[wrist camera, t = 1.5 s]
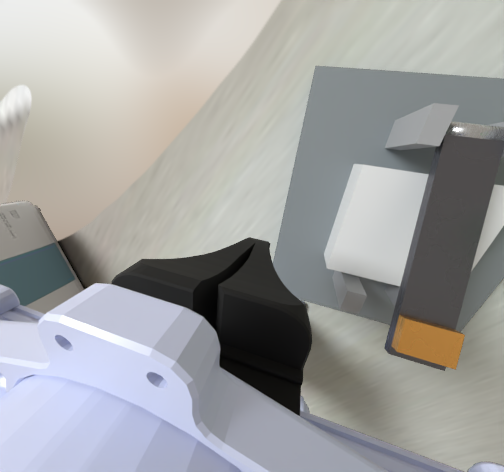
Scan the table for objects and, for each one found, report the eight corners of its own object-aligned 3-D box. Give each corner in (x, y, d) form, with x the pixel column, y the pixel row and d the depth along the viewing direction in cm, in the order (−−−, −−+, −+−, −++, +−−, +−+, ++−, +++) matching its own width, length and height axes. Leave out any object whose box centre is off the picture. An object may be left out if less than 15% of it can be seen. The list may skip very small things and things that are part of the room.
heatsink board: (444, 333, 21) (494, 394, 16) (268, 284, 25) (258, 320, 19) (624, 95, 13) (880, 43, 7) (314, 72, 16) (320, 25, 11)
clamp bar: (435, 362, 12) (454, 378, 11) (382, 346, 13) (393, 359, 11) (495, 133, 12) (523, 119, 10) (437, 127, 12) (457, 112, 11)
